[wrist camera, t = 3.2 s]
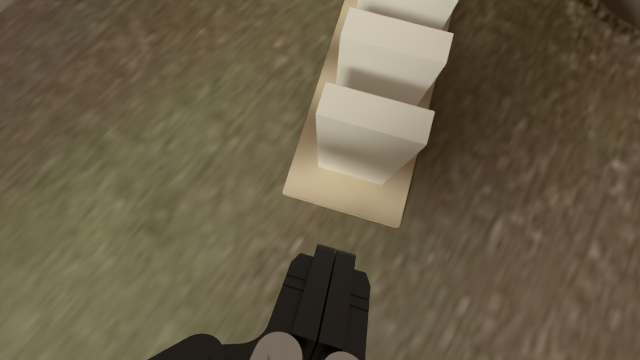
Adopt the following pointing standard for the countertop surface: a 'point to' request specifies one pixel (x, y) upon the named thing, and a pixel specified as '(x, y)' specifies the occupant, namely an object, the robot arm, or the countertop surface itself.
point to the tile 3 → (412, 10)
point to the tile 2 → (390, 56)
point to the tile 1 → (368, 133)
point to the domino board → (342, 188)
